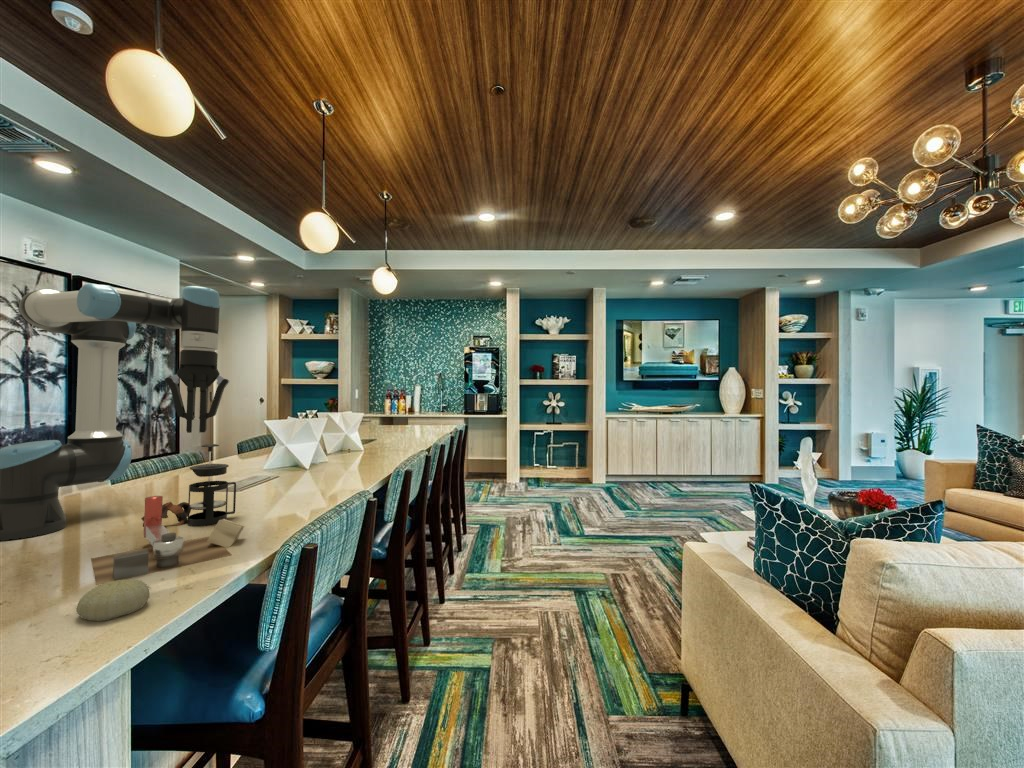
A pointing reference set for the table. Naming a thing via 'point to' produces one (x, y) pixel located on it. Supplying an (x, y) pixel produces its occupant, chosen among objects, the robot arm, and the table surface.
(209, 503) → the french press
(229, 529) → the block
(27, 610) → the table surface
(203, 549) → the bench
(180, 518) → the broken mug
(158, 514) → the lever
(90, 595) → the olive grey stone
